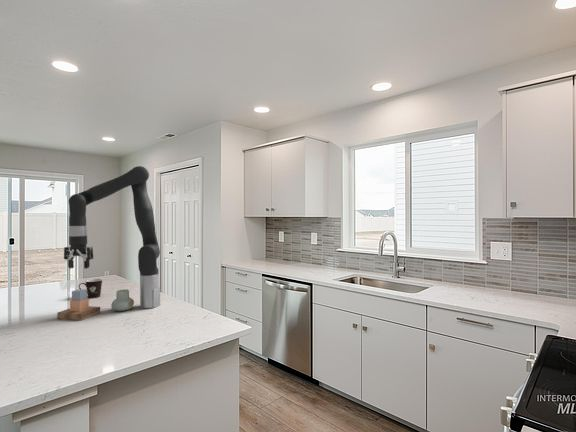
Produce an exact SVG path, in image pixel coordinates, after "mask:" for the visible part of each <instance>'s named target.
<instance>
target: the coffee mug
mask: <svg viewBox="0 0 576 432" xmlns="http://www.w3.org/2000/svg"><path fill="white" fill-rule="evenodd" d="M81 285H85V287H86V288H85V289H87V298H89V299H97V298H100V297H101V294H102V285H103V278H93V279H87V280H85V282H81V283H79V284H78V289H82V288H81Z"/></svg>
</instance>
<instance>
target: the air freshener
mask: <svg viewBox="0 0 576 432" xmlns="http://www.w3.org/2000/svg"><path fill="white" fill-rule="evenodd" d="M115 297H116V299H114V300H113V301H112V303H111V305H110V306H111V309H112V310H114V311H116V312H126V311H129V310H130V309H132V308H133V307H134V305H135V304H134V303H135V300H134V299H133V298H131V297H130V290H129V289H127V288H125V289H118V290H116V294H115Z"/></svg>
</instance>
